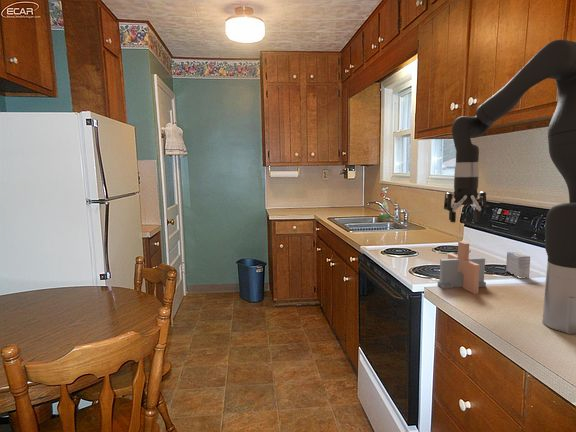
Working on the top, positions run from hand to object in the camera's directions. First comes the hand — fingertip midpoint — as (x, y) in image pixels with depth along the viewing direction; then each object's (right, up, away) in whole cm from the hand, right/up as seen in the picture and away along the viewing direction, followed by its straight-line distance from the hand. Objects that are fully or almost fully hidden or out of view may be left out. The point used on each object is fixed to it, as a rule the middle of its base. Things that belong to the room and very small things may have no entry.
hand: (464, 221), depth 124 cm
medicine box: (+28, -22, +14) cm, 38 cm away
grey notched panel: (+1, -23, +3) cm, 24 cm away
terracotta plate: (+1, -23, +3) cm, 23 cm away
